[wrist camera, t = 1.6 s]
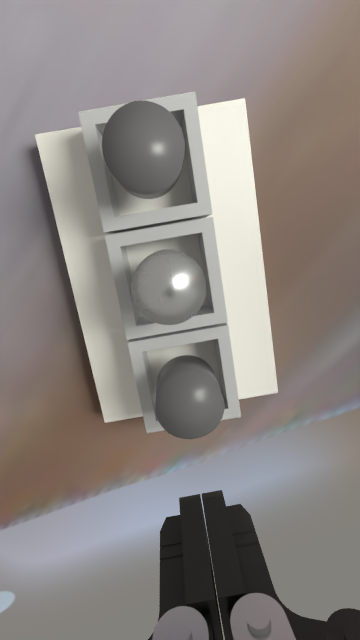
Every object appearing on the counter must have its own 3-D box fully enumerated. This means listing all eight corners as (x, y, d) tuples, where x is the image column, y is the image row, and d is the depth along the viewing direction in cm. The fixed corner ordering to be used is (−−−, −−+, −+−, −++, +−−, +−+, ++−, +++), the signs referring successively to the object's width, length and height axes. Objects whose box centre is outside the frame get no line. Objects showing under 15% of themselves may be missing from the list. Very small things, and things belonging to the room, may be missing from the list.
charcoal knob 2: (211, 350, 23) (219, 369, 19) (219, 404, 24) (228, 432, 20) (151, 360, 23) (149, 381, 19) (162, 414, 24) (162, 444, 20)
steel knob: (194, 243, 21) (200, 243, 18) (204, 306, 22) (211, 318, 19) (130, 254, 21) (124, 257, 18) (143, 317, 22) (138, 331, 19)
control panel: (238, 109, 24) (256, 76, 20) (270, 382, 29) (291, 410, 24) (45, 143, 24) (15, 118, 20) (108, 410, 29) (97, 444, 24)
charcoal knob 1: (175, 119, 20) (177, 94, 16) (186, 193, 20) (190, 183, 17) (106, 131, 20) (93, 108, 16) (120, 204, 20) (111, 196, 17)
